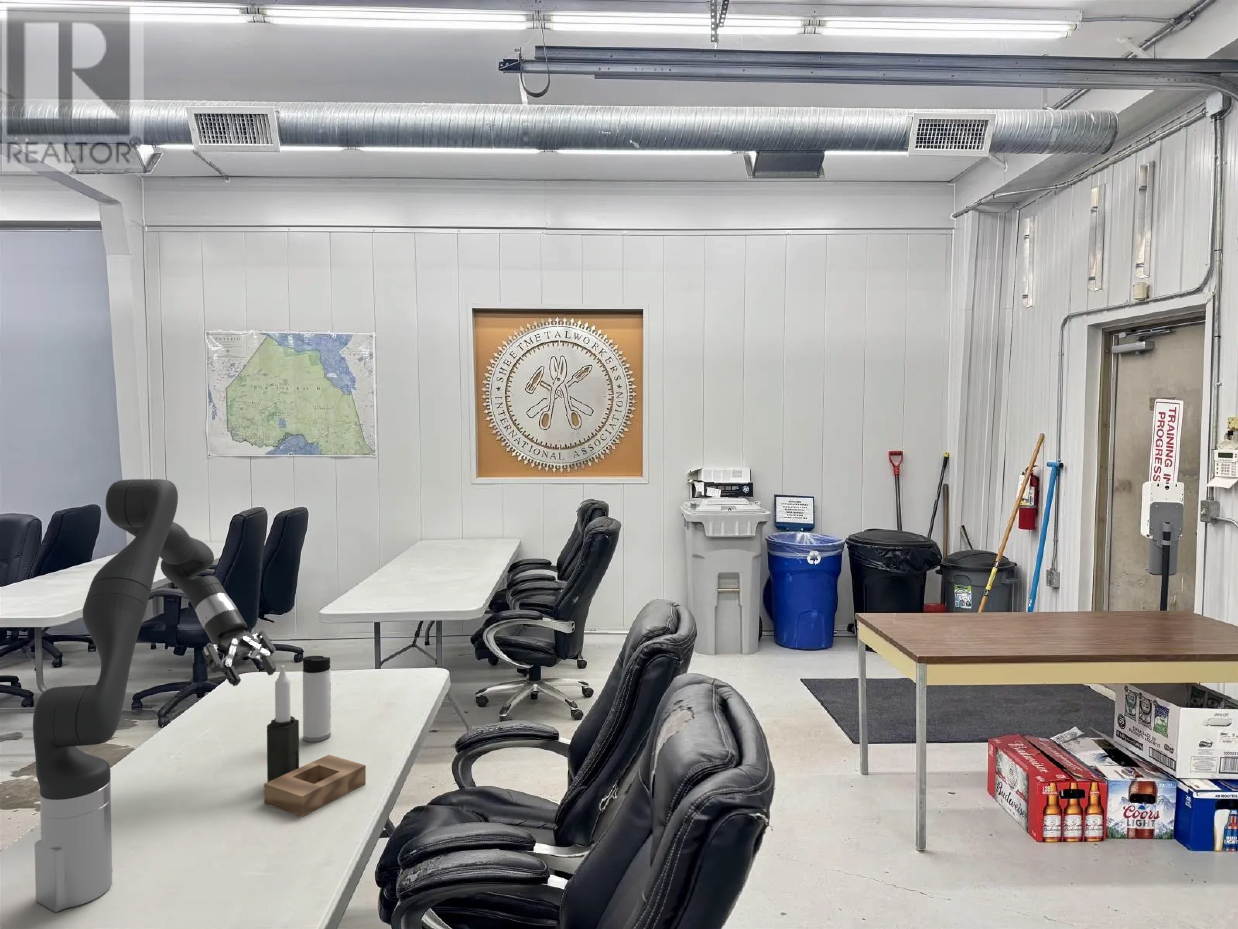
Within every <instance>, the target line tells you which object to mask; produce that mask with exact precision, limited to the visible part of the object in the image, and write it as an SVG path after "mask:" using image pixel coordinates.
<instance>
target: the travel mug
mask: <svg viewBox="0 0 1238 929" xmlns="http://www.w3.org/2000/svg"><path fill="white" fill-rule="evenodd" d="M331 683H332V681H331V657H329V656H328V657H326V656H324V655H309V656H308V655H307V656H304V657H302V738H303V739H302V740H304V741H305V742H308V743H318V741H319V742H323V741H325V739H326V740H327V738H328V739H329V738H330V737H331V735H332V730H331V729H332V724H331V722H332V720H331V719H332V718H331V717H332V715H331V713H332V712H331V711H332V710H331V709H332V708H331V707H332V705H331V701H332V700H331V698H332V697H331V692H332V691H331ZM322 740H323V741H322Z"/></svg>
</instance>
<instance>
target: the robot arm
mask: <svg viewBox="0 0 1238 929" xmlns="http://www.w3.org/2000/svg"><path fill="white" fill-rule="evenodd" d="M178 500H179V496H178V489H177V486H176V484H174V482H172V481H171V480H168V479H163V478H159V479H158V478H153V479H150V478H145V479H144V478H139V479H137V478H136V479H133V478H132V479H122V480H121V479H120V480H117V481H115V482H113V483H112V484H111V485H110V486H109V488H108V489H107V493H106V495H105V509H106V514H107V517H108V518H109V520H110V521H111V522H112V524H114V525H116V526H117V527H118V528H120V529H122V530H123V531H125V532H127V533H128V534H130V535H132V536H134V538H133V539H132V540H131V542H129V543H128V545H126V546H125V547H124V548H123V549H122V550H120V551H118V553H117V554H116V555H114V556H113V557H111V559H109V560H108V561H107V562H106V563H105V564H104V565H103V566H102V567H101V568H100V569H99V570H98V571H97V572H96V574H95V575H94V577H93V578H92V581H91V583H90V586H89V589H88V591H87V595H86V597H85V601H84V604H83V606H82V620H83V623H84V625H85V628H86V630H87V632H88V633H89V636H90V638H91V639H92V641H93V643H94V645H95V647H96V650H97V653H98V656H99V658H100V663H101V664H100V673H99V677H98V680H97V682H96V684H86V685H85V684H84V685H82V684H81V685H65V686H53V687H50V688H48V689H46V690H44V691H43V693H41V695H40V696H39V697H38V699H37V702H36V704H35V707H34V710H33V718H32V732H33V733H32V735H33V736H32V738H33V744H34V755H35V756H34V757H35V759H34V760H35V770H36V772H35V773H36V774H35V775H36V778H37V783H38V786H39V800H40V801H39V803H40V804H39V806H40V807H39V808H40V839H39V840H37V841H35V842H34V870H35V872H34V873H35V874H34V875H35V876H34V878H35V879H34V880H35V902H37V903H39V904H40V905H42V906H45V907H46V908H47V909H50V910H51V911H53V912H54V913H57V912H58V913H59V912H60V911H62V910H65V909H68V908H69V909H70V908H73V907H74V908H75V907H78V906H81V905H83V904H86V903H87V904H88V903H89V902H91V901H93V900H96V899H98V898H99V897H101V896H102V895H105V893H107V891H109V889H110V888H111V887H112V885H113V846H112V845H113V844H112V842H113V841H112V840H113V839H112V835H113V834H112V784H111V782H112V781H111V778H112V777H111V776H112V775H111V766H110V763H109V761H108V760H106V759H103V758H101V757H98V756H94V755H91V754H89V753H86V752H84V751H82V750H81V749H79V748H78V747H83V746H95V745H101V744H102V745H103V744H105V743H107V742H109V741H110V740H111V739H112V738H113V737H114V735H115V733H116V732H117V729H118V727H119V723H120V721H121V717H122V713H123V707H124V702H125V696H126V693H127V687H128V680H129V676H130V670H131V664H132V661H133V660H132V659H133V656H134V650H135V647H136V644H137V640H138V636H139V633H140V630H141V627H142V624H143V620H144V617H145V614H146V610H147V609H148V608H147V606H148V604H149V600H150V597H151V596H150V595H151V592H152V588H153V583H154V580H155V574H156V571H157V567H158V563H159V560H160V558H161V562H160V570H161V573H162V574H163V575H164V577H166V578H167V579H168V580H169V581H170V582H171V583H173V584H174V585H175V586H176V587H177V588H179V590H180V591H181V592H182V593H184V595H185V596H186V598H187V599H188V601H189V602H190V604H191V606H192V607H193V609H194V611H195V613H196V615H197V619H198V620H199V622H200V624H201V626H202V628H203V629H204V631H205V632H206V634H207V636H208V638H209V640H210V641H211V642H208V643H207V644H206V645H205V646H204V648H203V649H202V651H201V654H202V655H203V657H204V658H205V662H206V664H207V665H208V667H209V669H210V672H212V673H214V674H216V673H217V672H218V673H219V672H221V673H222V674H224V676H225V679H226V680H227V682H228V683H229V684H230V685H232V687H237V686H238V685H239V684H240V683H241V682H242V679H241V677H240V675H239V673H238V671H237V670H236V668H235V667H234V665H232V664H233V660H234V661H236V660H238V659H240V658H246V657H249V658H251V659H256V660H259V661H260V662H261V666H262V667H263V668H264V671H265V672H266V674H267V675H268V676H272V675H274V674H275V672H276V671H277V665H276V663H275V662H274V660H273V659H272V656H273V654H274V653H275V652H276V650H277V649H276V647H275V646H274V643H273V642H272V641H271V639H270V637H268V635H267V634H266V632H265V631H264V629H261V630H260V629H259V631H258V632H257V633H254V634H252V633H251V632H249V630H248V625H247V622H245V619H244V618H243V616H242V615H241V613H240V611H239V610H238V608H237V606H236V604H235V602H233V600H232V599H231V598H230V597H229V595H228V594H227V592H226V590H225V588H224V587H223V585H222V584H221V582H220V580H219V578H217V577H216V576H214V575H205V576H199V577H198V578H194V577H195V576H197V575H200V574H201V573H203V572H205V571H207V570H208V569H210V568H211V567H212V566H213V565H214V561H215V555H214V553H213V550H212V549H211V547H210V546H208V545H207V544H206V543H205V542H203V541H201V540H199V539H196V538H195V537H192V536H190V534H189V533H188V531H186V529H185V528H184V527H182V525H180V524H179V523H177V522H175V521H174V520H175V517H176V516H175V515H176V512H177V508H178V502H179V501H178ZM253 649H255V650H253ZM252 650H253V651H252ZM218 653H219V654H221V655H223V656H222V660H221V659H220V656H219V654H218Z"/></svg>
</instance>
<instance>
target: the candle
mask: <svg viewBox="0 0 1238 929" xmlns="http://www.w3.org/2000/svg"><path fill="white" fill-rule="evenodd" d="M285 667H286V666H285V665H284V664H283V665H281V666H280V671H279V674H278V677H277V679H276V680H275V682H274V690H275V691H274V697H275V698H274V701H275V702H274V704H275V705H274V706H275V708H274V712H275V713H274V717H275V718H274V719H271V720H270V723H268V724H267V725H266V762H267V763H266V764H267V765H266V766H267V767H266V775H267V776H266V778H267V781H266V783H267V782H269V781H271V780H273V779H276V778H278V777H280V776H282V775H285V774H287V773H289V772H291V771H293V770H296V769H298V768H300V724H299V723H300V721H299V719H296V718H295V717H294V716H291V680H290V678H289V677H288V676H287V673H286V669H285Z"/></svg>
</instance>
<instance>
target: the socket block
mask: <svg viewBox="0 0 1238 929" xmlns="http://www.w3.org/2000/svg"><path fill="white" fill-rule="evenodd" d="M366 771H367V770H366V765H365V764H363V763H359V762H356V761H352V760H349V759H345V758H343V757H339V756H334V755H332V754H327V755H324V756H322V757H320V758H318V759H315V760H314V761H311V762H309V763H307V764H305V765H302V766H299V768H298V769H296V770H293V771H291V772H289V773H287V774H285V775H282V776H280V777H278V778H276V779H273V780H271V781H269V782H267V781H266V782H265V783H263V789H264V790H263V793H264V794H263V802H264V803H263V804H264V805H265V804H266V805H267V804H268V805H267V806H270V807H273V808H276V809H279V810H282V811H284V812H287V811H288V812H287V813H290V814H293V815H295V814H296V816H297V817H298V816H299V817H301V818H302V817H303V818H304V817H305V816H306V815H307V816H308V815H309V814H311V813H312V811H313V812H314V811H317V810H318V809H321V808H322V807H324V806H325V804H326V805H328V804H330V803H332V802H333V801H336V800H337V799H339V798H342V797H343V796H346V795H347V794H349V793H351V792H353V791H355V790H357V789H359V788H361V787H363V786H365V785H366V783H367V782H366V779H367V778H366V776H367V775H366ZM316 809H317V810H316Z"/></svg>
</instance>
